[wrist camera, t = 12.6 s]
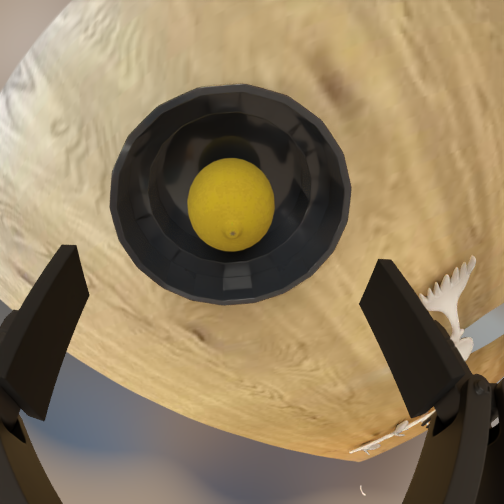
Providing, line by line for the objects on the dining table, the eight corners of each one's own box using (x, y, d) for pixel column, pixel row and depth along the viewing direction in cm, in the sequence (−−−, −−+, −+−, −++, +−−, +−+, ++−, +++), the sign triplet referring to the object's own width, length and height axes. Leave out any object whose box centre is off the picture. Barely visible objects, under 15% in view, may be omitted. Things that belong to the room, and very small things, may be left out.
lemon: (195, 214, 23) (184, 276, 16) (192, 147, 20) (175, 184, 13) (264, 213, 24) (280, 274, 17) (268, 147, 20) (290, 183, 14)
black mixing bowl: (101, 176, 21) (69, 207, 16) (244, 45, 16) (251, 31, 11) (220, 285, 28) (221, 332, 23) (353, 192, 24) (385, 226, 19)
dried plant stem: (356, 449, 72) (468, 389, 59) (365, 497, 55) (490, 436, 43) (341, 441, 68) (464, 374, 55) (349, 495, 51) (490, 427, 39)
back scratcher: (463, 241, 28) (479, 257, 25) (469, 347, 43) (476, 360, 41) (407, 281, 30) (420, 301, 27) (434, 371, 46) (440, 384, 43)
